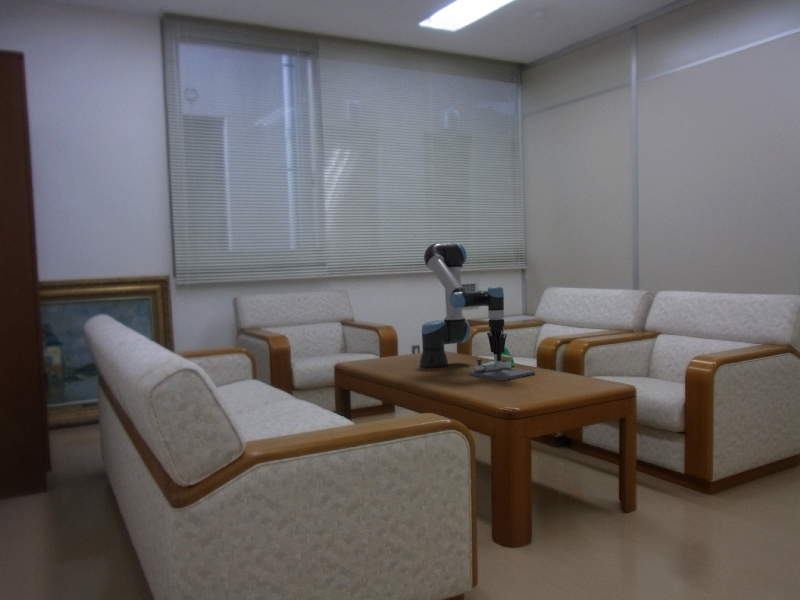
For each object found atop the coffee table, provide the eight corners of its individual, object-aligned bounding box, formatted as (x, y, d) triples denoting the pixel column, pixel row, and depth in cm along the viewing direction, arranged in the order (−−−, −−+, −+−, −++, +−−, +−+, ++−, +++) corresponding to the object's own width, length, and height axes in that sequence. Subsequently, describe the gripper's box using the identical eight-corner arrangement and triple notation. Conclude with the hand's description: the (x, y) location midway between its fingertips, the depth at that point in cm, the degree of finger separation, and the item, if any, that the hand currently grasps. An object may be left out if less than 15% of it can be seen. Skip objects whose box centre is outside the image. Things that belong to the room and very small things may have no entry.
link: (478, 372, 315) (478, 360, 314) (472, 371, 319) (471, 359, 319) (511, 367, 325) (511, 356, 325) (505, 366, 329) (505, 354, 329)
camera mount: (504, 364, 347) (504, 345, 346) (514, 366, 341) (513, 346, 340) (486, 367, 341) (486, 347, 340) (495, 369, 334) (495, 348, 334)
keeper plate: (469, 375, 319) (468, 359, 318) (501, 369, 332) (501, 354, 332) (502, 380, 301) (502, 364, 301) (535, 374, 315) (534, 358, 314)
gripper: (510, 319, 315) (512, 368, 316) (494, 317, 327) (495, 365, 328) (498, 320, 312) (499, 369, 313) (482, 318, 323) (483, 366, 324)
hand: (497, 367), depth 320 cm, fingers closed
